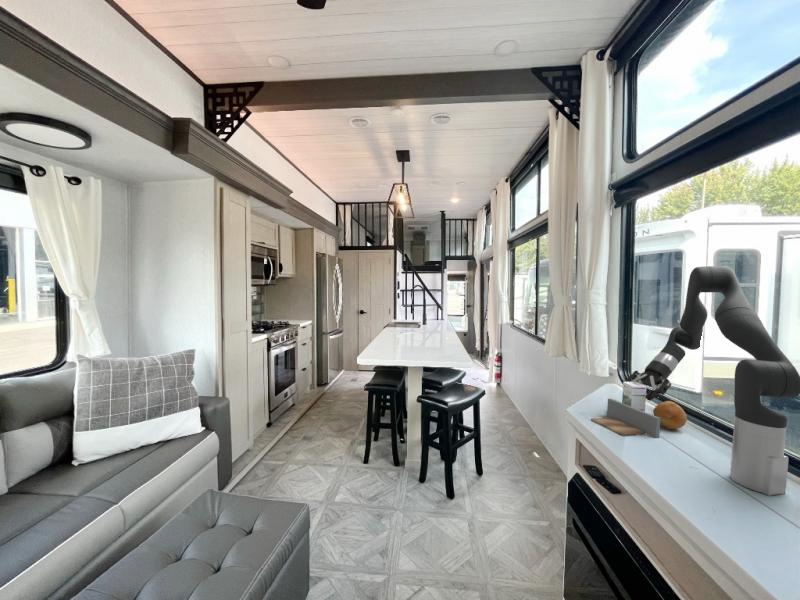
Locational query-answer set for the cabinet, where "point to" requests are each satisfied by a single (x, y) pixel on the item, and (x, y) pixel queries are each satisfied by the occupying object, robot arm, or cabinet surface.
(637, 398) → the syrup box
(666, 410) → the onion
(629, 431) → the walnut pad
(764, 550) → the cabinet surface
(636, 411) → the grey barrier panel
